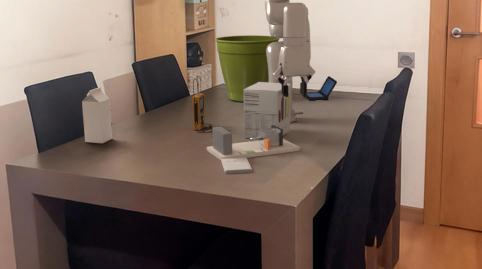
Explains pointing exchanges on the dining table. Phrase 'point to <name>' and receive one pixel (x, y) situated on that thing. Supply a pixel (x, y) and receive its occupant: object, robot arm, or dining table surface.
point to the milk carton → (97, 117)
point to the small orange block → (267, 143)
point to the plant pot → (243, 62)
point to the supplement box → (266, 108)
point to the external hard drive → (236, 165)
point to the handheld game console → (322, 90)
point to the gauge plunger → (270, 136)
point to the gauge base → (243, 146)
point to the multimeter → (198, 110)
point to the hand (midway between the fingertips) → (294, 95)
